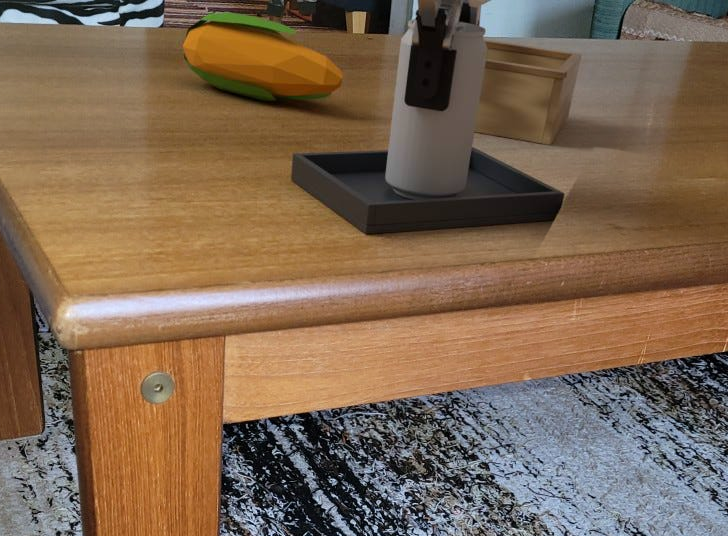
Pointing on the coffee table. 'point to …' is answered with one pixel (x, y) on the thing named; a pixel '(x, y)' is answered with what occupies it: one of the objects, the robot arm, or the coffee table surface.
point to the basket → (526, 91)
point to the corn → (257, 59)
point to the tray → (397, 213)
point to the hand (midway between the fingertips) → (438, 96)
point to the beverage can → (437, 124)
